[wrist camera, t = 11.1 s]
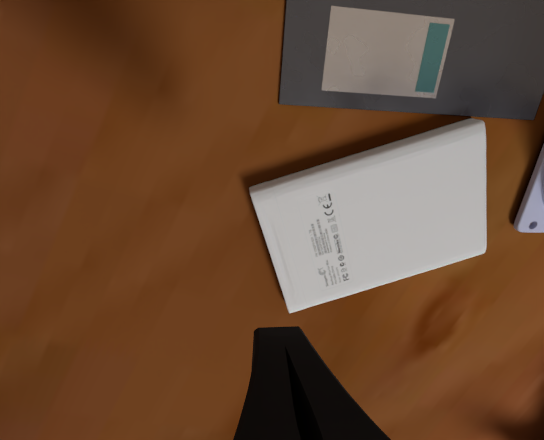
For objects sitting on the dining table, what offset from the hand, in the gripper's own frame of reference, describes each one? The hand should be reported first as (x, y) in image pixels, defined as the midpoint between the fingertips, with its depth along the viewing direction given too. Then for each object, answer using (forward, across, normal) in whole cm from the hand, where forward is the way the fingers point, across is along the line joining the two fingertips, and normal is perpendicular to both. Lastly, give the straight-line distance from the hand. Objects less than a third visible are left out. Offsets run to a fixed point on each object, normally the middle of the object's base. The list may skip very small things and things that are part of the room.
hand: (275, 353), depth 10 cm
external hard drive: (+10, -7, 0) cm, 12 cm away
